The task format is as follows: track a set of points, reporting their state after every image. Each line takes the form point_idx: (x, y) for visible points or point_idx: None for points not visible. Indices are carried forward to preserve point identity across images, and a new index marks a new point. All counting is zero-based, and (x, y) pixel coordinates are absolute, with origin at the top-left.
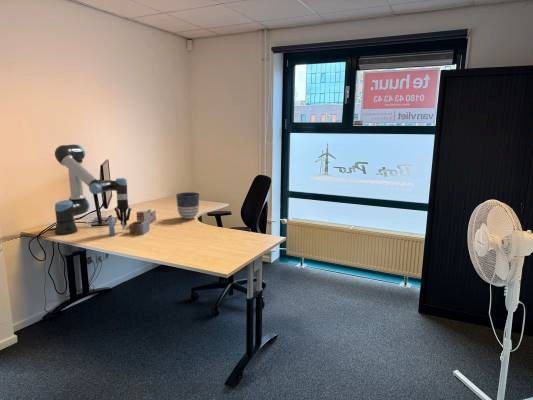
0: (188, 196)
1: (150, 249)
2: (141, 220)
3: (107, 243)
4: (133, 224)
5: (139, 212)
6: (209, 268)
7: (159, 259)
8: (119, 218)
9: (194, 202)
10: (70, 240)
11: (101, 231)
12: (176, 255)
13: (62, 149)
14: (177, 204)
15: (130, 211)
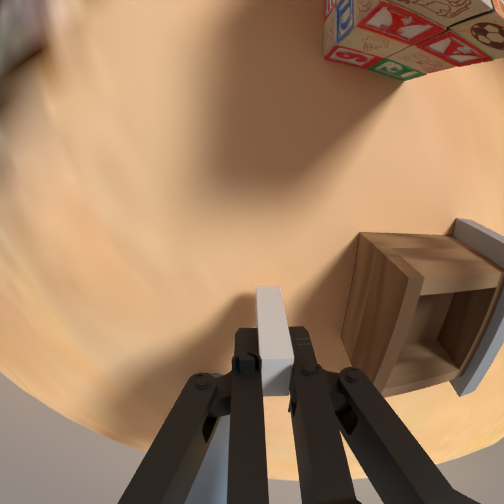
0: None
1: (434, 446)
2: (417, 53)
3: (268, 460)
4: (407, 385)
5: (480, 4)
6: (490, 444)
7: (438, 463)
8: (214, 427)
9: None
10: (75, 420)
11: (61, 287)
12: (474, 439)
13: None
14: None
15: (447, 481)
